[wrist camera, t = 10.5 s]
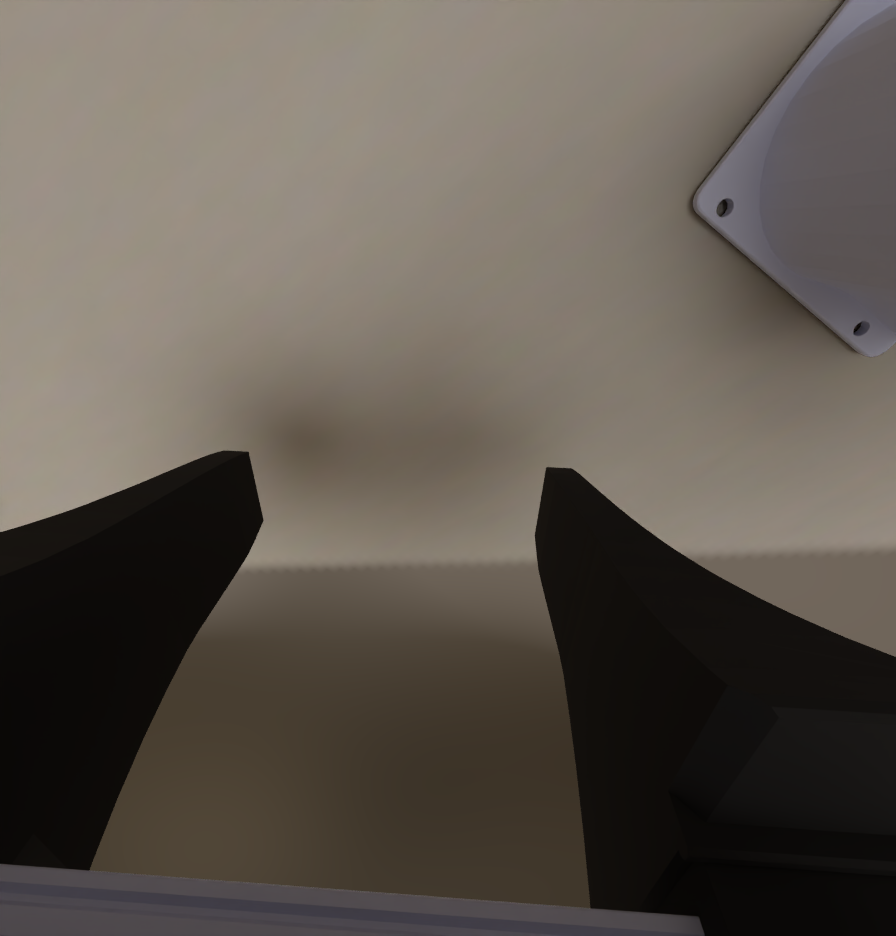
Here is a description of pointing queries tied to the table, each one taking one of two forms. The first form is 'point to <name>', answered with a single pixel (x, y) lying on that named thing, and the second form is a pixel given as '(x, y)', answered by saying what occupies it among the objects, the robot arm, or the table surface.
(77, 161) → the table surface
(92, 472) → the table surface
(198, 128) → the table surface
